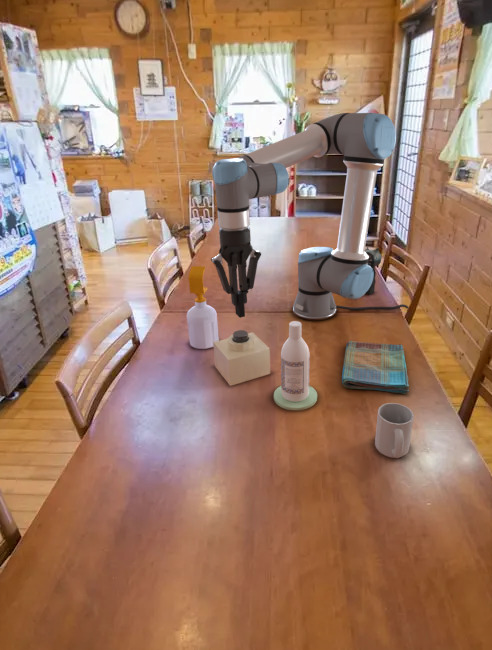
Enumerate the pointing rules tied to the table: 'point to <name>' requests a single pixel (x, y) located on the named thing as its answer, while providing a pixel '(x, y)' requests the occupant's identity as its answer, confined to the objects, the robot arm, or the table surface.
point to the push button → (240, 336)
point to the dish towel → (375, 367)
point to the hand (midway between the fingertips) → (240, 315)
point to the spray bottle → (201, 314)
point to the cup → (393, 429)
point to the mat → (295, 405)
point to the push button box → (242, 359)
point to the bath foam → (295, 365)
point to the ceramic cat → (373, 265)
